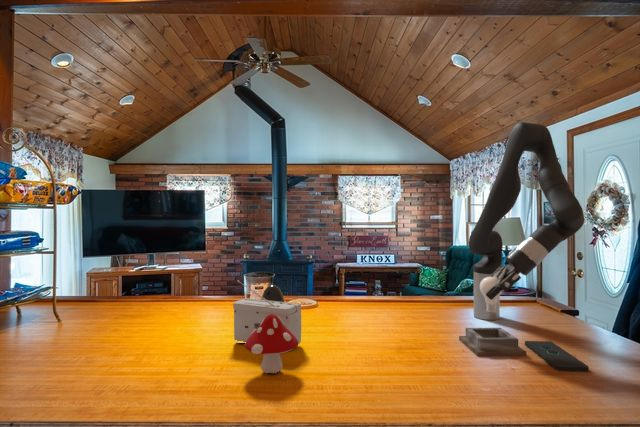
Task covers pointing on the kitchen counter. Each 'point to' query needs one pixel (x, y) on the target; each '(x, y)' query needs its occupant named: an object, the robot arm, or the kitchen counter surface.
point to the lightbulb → (484, 288)
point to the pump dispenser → (273, 294)
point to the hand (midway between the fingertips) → (485, 294)
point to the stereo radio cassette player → (256, 310)
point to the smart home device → (556, 356)
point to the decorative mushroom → (271, 343)
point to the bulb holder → (491, 342)
